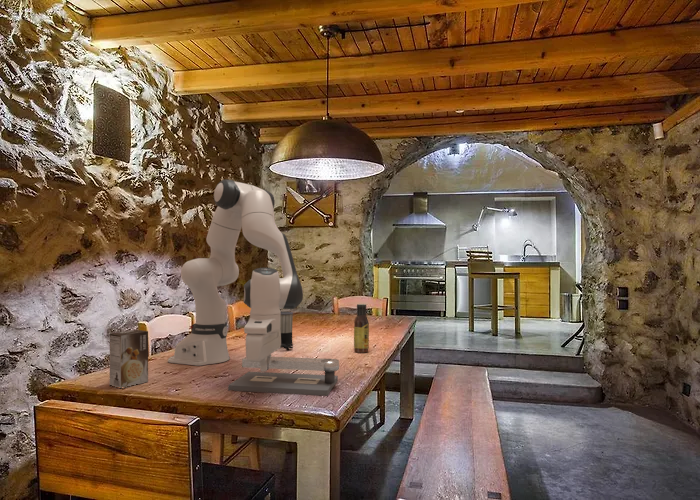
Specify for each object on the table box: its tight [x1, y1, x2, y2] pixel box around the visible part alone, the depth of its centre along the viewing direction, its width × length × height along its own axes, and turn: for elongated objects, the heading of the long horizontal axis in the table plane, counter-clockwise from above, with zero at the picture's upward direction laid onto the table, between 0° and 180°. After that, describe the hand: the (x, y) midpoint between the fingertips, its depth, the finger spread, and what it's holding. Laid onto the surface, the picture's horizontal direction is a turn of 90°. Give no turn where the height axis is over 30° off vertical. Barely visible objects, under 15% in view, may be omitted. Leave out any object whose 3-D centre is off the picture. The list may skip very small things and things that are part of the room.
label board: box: [227, 371, 339, 397], centre depth 136 cm, size 30×16×5 cm, turn 81°
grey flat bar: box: [241, 356, 340, 372], centre depth 136 cm, size 30×6×2 cm, turn 81°
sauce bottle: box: [353, 303, 370, 354], centre depth 185 cm, size 7×6×20 cm
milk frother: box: [280, 311, 294, 351], centre depth 193 cm, size 14×16×15 cm
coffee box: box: [109, 329, 149, 388], centre depth 136 cm, size 9×6×16 cm
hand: (264, 370), depth 129 cm, fingers closed
